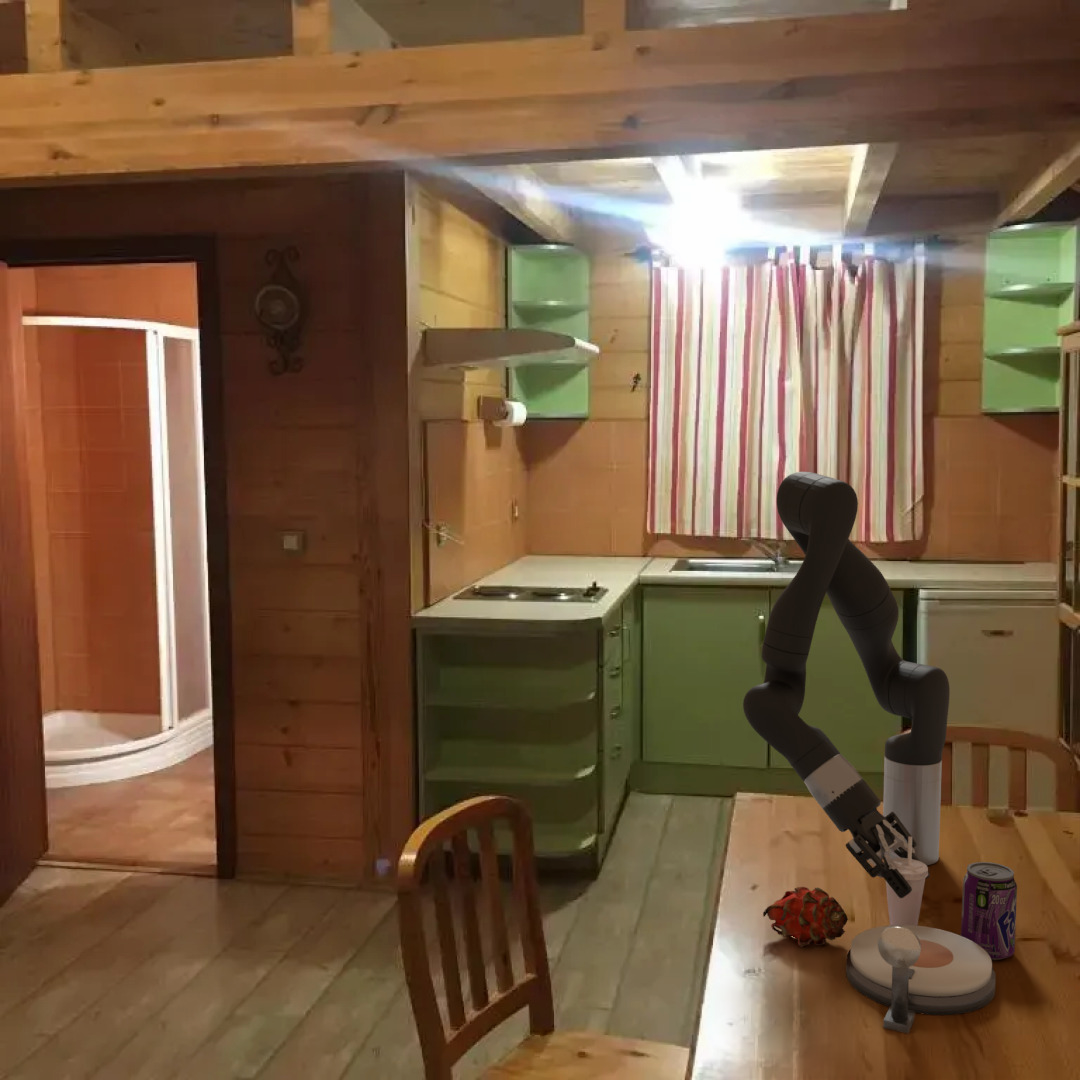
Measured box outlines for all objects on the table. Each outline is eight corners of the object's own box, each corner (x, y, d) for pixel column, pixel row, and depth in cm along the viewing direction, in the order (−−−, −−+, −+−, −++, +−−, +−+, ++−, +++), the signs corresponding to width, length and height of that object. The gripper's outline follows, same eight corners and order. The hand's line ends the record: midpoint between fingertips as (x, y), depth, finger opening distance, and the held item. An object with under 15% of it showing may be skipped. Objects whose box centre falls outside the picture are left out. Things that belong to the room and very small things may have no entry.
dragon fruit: (853, 961, 174) (768, 960, 178) (854, 908, 180) (773, 908, 184) (842, 928, 169) (755, 927, 173) (844, 874, 175) (760, 875, 179)
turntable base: (864, 938, 178) (864, 925, 177) (1004, 965, 169) (1004, 951, 169) (830, 994, 161) (830, 980, 161) (983, 1028, 152) (984, 1012, 152)
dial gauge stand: (884, 1008, 157) (886, 910, 156) (924, 1017, 155) (927, 917, 153) (875, 1025, 153) (877, 925, 151) (916, 1035, 151) (919, 933, 149)
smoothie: (928, 940, 177) (931, 846, 175) (882, 936, 178) (884, 843, 176) (923, 921, 183) (927, 830, 181) (879, 918, 184) (881, 827, 183)
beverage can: (988, 968, 168) (992, 883, 167) (949, 947, 174) (952, 866, 173) (1025, 957, 171) (1029, 874, 170) (985, 937, 178) (988, 857, 176)
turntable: (867, 925, 177) (867, 913, 177) (1000, 951, 168) (1000, 938, 168) (835, 977, 161) (835, 964, 161) (980, 1008, 153) (981, 994, 152)
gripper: (838, 790, 177) (916, 889, 171) (878, 766, 188) (952, 858, 182) (803, 818, 181) (878, 916, 175) (844, 793, 192) (916, 884, 186)
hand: (915, 886), depth 179 cm, fingers closed on smoothie, 6 cm apart
